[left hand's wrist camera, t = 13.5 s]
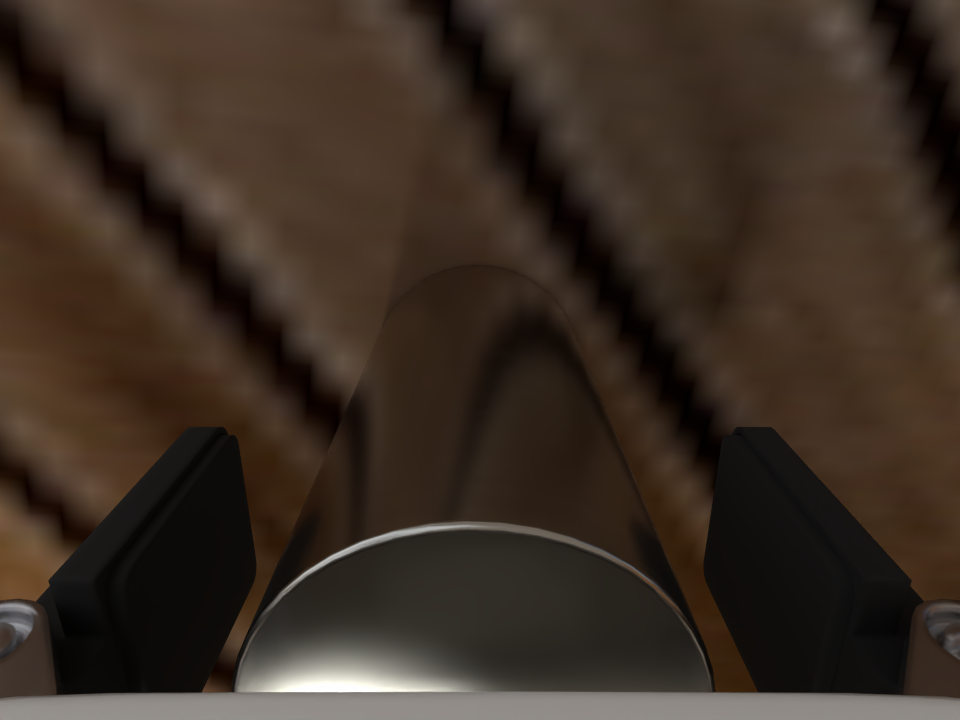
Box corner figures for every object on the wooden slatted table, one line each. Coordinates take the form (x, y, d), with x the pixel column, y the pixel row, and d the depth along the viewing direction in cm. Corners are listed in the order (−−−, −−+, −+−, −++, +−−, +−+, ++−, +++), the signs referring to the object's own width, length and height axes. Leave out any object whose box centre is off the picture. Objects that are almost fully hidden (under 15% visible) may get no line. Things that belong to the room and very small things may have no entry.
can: (597, 423, 18) (751, 840, 8) (414, 470, 19) (332, 918, 8) (549, 239, 17) (669, 464, 6) (348, 297, 17) (140, 596, 7)
